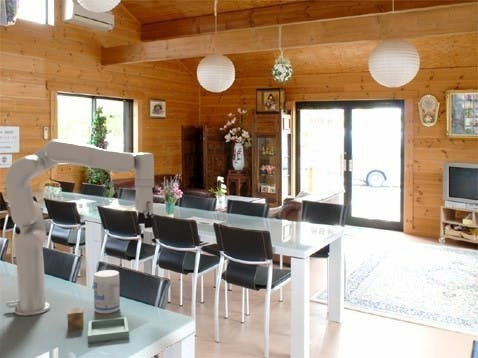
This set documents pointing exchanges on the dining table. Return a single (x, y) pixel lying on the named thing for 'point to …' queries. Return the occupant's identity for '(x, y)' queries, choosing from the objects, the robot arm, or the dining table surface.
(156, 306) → the dining table surface
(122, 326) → the rest tray
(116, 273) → the supplement tub
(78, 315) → the walnut block
